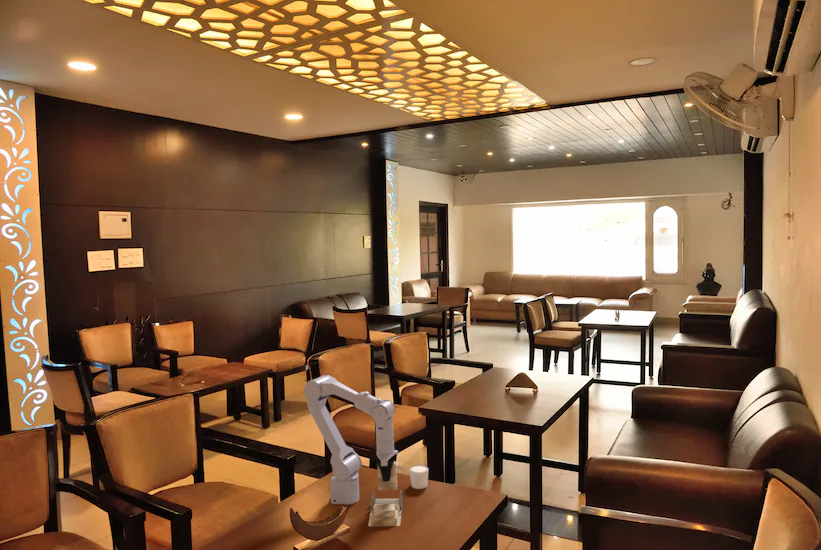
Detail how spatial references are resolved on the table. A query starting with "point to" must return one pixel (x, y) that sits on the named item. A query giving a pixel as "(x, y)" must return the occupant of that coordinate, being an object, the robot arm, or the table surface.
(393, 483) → the birch block
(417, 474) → the white cylinder
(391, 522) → the offcut lower
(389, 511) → the offcut upper
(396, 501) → the rack
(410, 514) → the table surface
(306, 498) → the table surface
